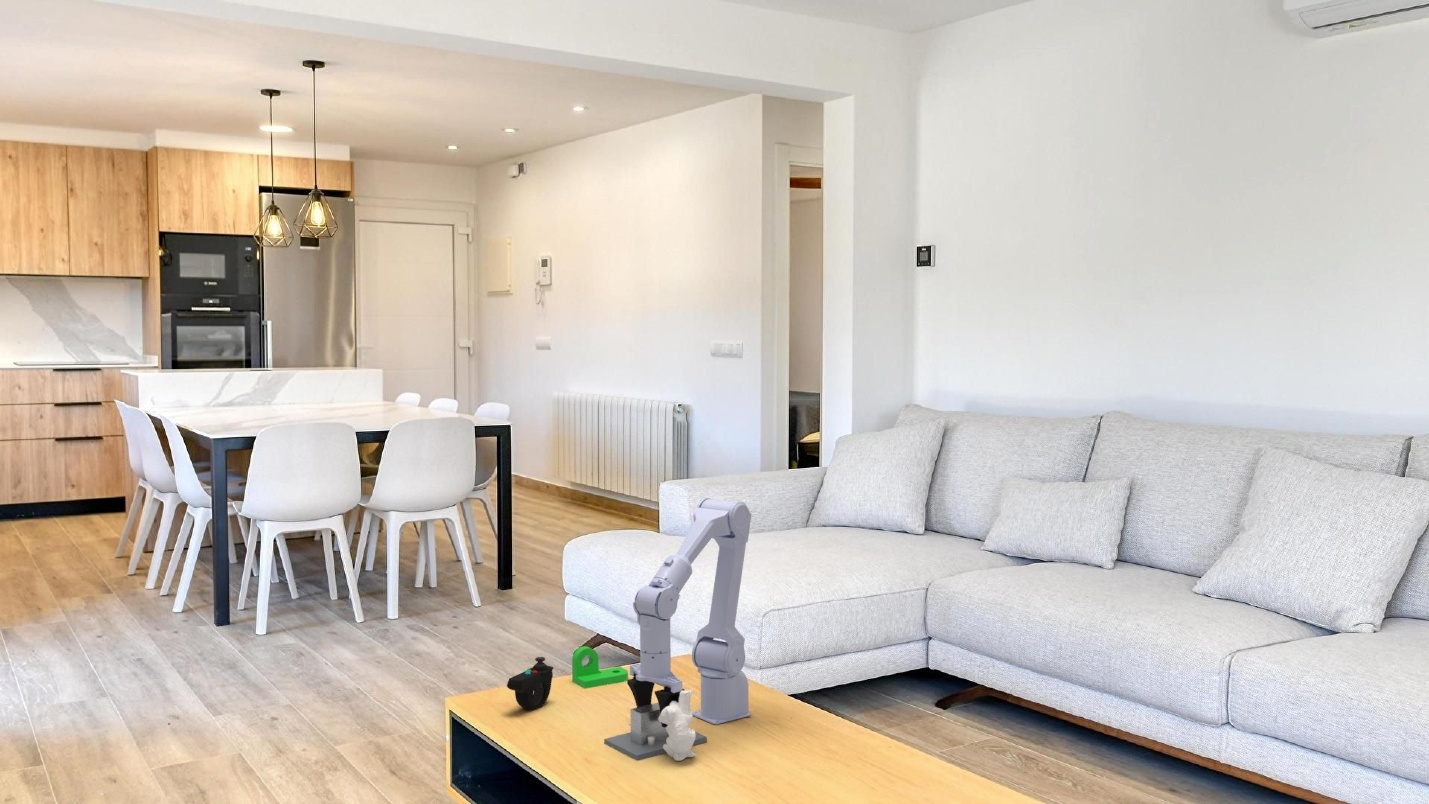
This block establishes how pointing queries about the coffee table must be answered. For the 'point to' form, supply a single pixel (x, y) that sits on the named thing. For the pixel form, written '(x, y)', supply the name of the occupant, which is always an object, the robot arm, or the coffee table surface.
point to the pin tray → (644, 751)
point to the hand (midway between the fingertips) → (655, 720)
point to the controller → (532, 685)
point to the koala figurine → (679, 727)
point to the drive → (646, 724)
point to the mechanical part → (594, 670)
